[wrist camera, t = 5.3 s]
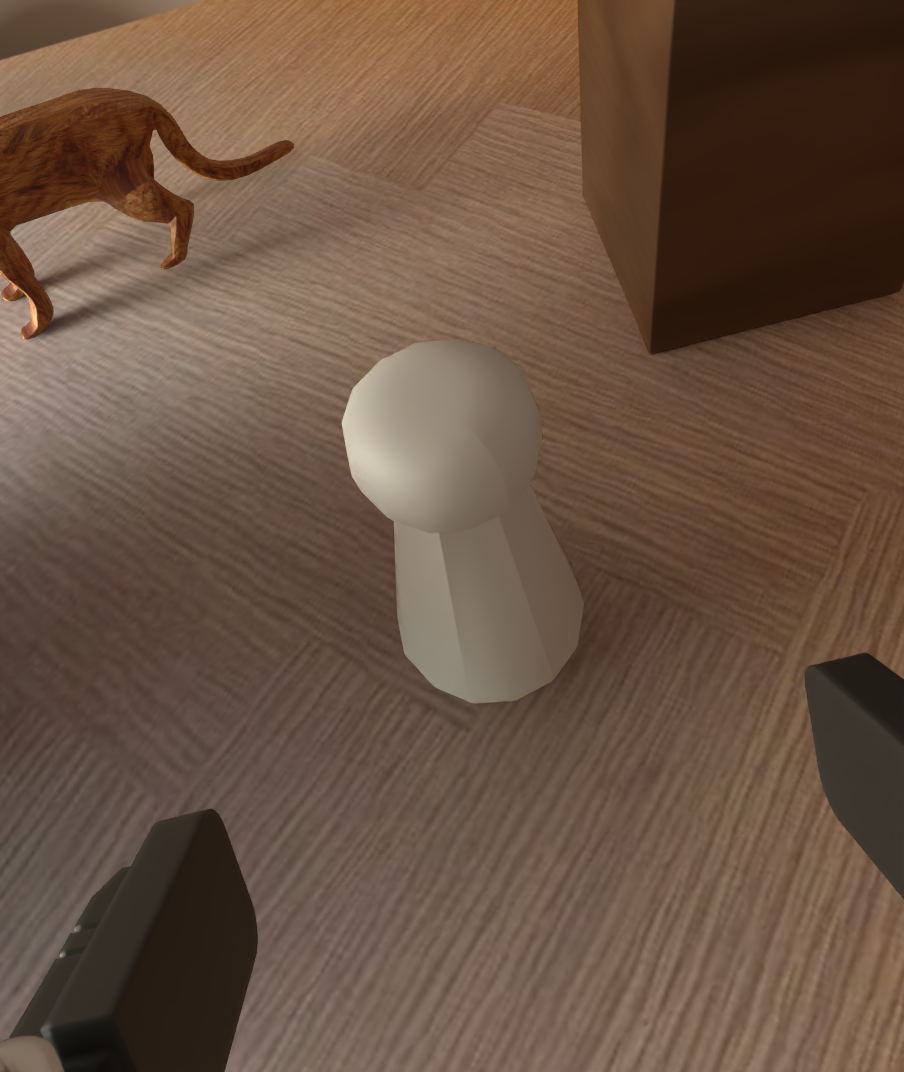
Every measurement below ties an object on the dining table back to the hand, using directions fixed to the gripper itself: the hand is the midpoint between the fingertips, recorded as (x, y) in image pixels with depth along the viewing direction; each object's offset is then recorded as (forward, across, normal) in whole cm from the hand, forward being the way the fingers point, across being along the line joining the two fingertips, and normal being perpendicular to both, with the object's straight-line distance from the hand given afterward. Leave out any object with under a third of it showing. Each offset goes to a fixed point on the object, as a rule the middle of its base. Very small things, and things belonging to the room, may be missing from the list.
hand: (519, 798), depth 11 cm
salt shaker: (+17, 0, +4) cm, 17 cm away
